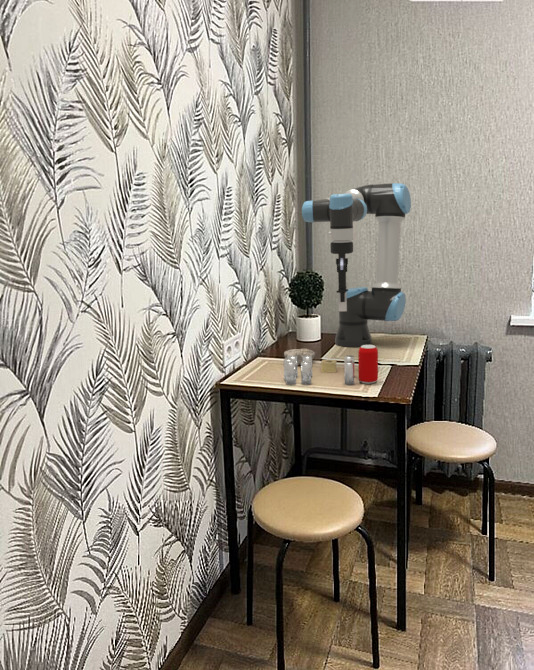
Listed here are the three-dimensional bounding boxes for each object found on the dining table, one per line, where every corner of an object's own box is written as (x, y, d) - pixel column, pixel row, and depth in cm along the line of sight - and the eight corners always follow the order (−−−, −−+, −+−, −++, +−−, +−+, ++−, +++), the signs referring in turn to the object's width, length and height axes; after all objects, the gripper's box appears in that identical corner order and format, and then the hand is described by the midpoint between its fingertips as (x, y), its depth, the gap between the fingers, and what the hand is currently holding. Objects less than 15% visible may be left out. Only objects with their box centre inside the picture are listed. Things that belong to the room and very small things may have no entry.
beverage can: (357, 379, 204) (357, 344, 201) (376, 379, 203) (376, 343, 201) (359, 384, 198) (359, 348, 195) (379, 384, 197) (379, 348, 195)
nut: (322, 369, 219) (322, 359, 218) (336, 369, 218) (336, 359, 217) (321, 372, 214) (321, 363, 213) (335, 373, 213) (335, 363, 213)
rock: (283, 368, 222) (283, 352, 221) (285, 360, 233) (285, 345, 232) (314, 367, 221) (314, 351, 220) (314, 360, 232) (314, 345, 231)
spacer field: (285, 375, 211) (285, 355, 210) (369, 375, 208) (369, 355, 206) (282, 384, 201) (282, 363, 199) (370, 385, 197) (370, 363, 196)
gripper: (331, 240, 212) (332, 307, 217) (329, 243, 199) (331, 314, 205) (353, 239, 211) (353, 307, 216) (353, 242, 198) (353, 314, 204)
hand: (342, 310), depth 210 cm, fingers closed
